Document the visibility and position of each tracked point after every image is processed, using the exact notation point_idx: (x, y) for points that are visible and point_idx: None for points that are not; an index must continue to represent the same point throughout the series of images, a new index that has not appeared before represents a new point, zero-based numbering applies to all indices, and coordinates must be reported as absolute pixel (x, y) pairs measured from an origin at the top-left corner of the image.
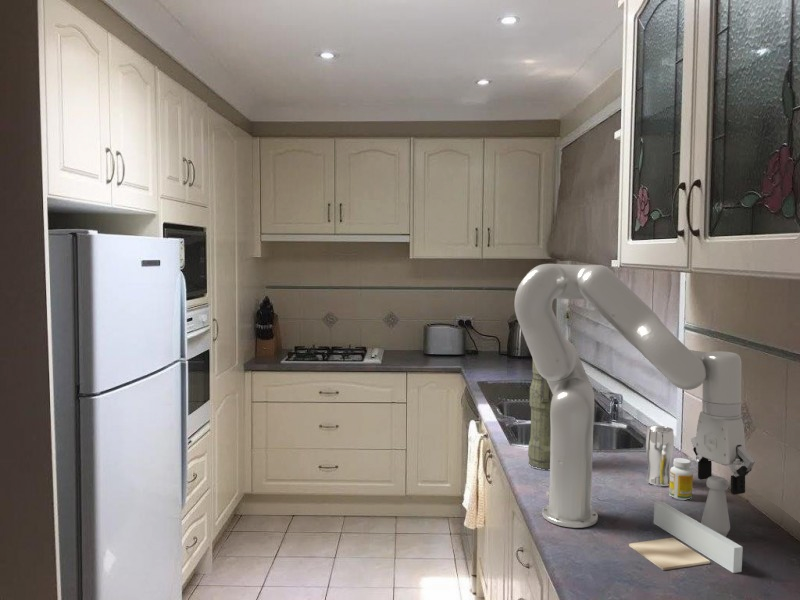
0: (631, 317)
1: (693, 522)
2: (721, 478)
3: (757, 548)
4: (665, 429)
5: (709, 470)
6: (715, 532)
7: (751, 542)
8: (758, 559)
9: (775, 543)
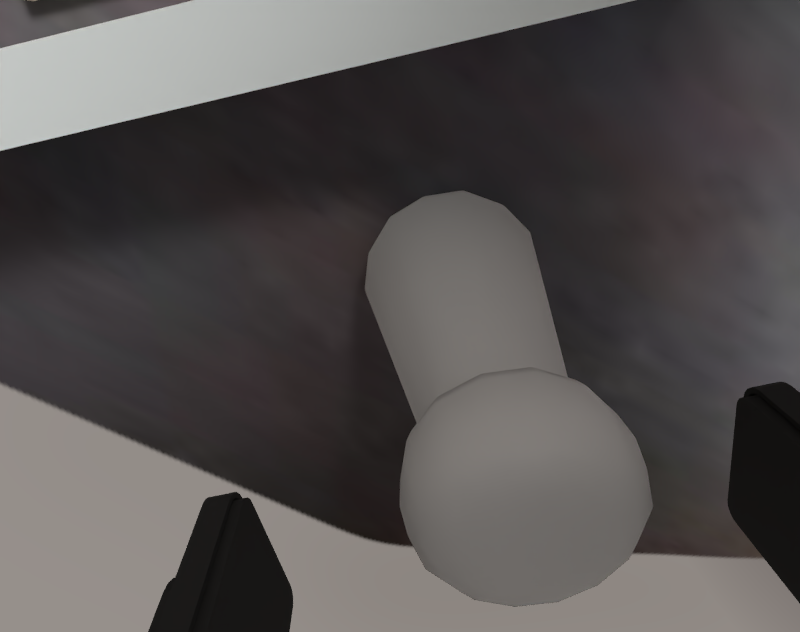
0: None
1: (284, 22)
2: (507, 577)
3: (282, 379)
4: None
5: (797, 572)
6: (77, 117)
7: (350, 386)
8: (153, 322)
9: (338, 472)
